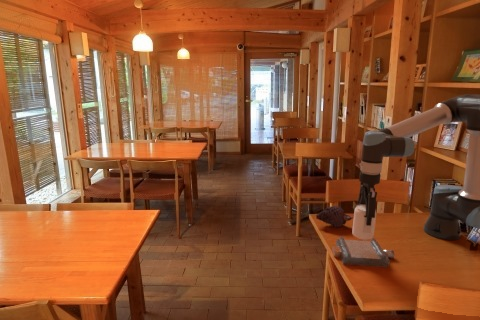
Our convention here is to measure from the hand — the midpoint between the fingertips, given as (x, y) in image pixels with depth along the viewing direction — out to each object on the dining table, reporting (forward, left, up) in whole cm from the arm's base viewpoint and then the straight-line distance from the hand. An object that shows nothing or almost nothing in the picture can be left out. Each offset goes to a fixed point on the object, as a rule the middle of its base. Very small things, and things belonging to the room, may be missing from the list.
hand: (363, 227), depth 133 cm
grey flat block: (0, 0, -12) cm, 12 cm away
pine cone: (+6, -28, -13) cm, 31 cm away
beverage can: (0, 0, -4) cm, 4 cm away
